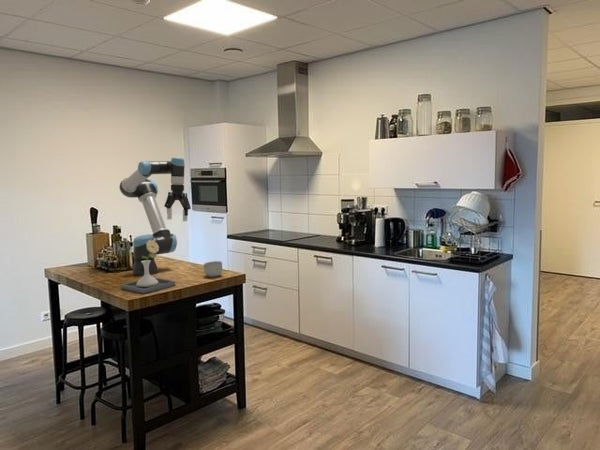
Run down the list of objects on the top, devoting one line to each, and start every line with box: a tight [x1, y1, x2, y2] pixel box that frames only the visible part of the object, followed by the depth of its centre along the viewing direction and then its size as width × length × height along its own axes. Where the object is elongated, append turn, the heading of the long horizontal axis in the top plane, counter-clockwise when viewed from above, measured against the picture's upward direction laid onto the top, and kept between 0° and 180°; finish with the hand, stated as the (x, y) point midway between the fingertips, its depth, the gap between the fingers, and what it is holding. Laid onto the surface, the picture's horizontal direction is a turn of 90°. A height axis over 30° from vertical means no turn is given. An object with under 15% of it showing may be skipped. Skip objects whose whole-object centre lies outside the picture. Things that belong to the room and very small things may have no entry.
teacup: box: [203, 260, 223, 278], centre depth 274 cm, size 14×11×8 cm
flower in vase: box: [136, 240, 159, 287], centre depth 247 cm, size 13×11×25 cm
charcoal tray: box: [120, 276, 176, 295], centre depth 249 cm, size 20×20×2 cm
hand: (177, 220), depth 272 cm, fingers open, 13 cm apart
